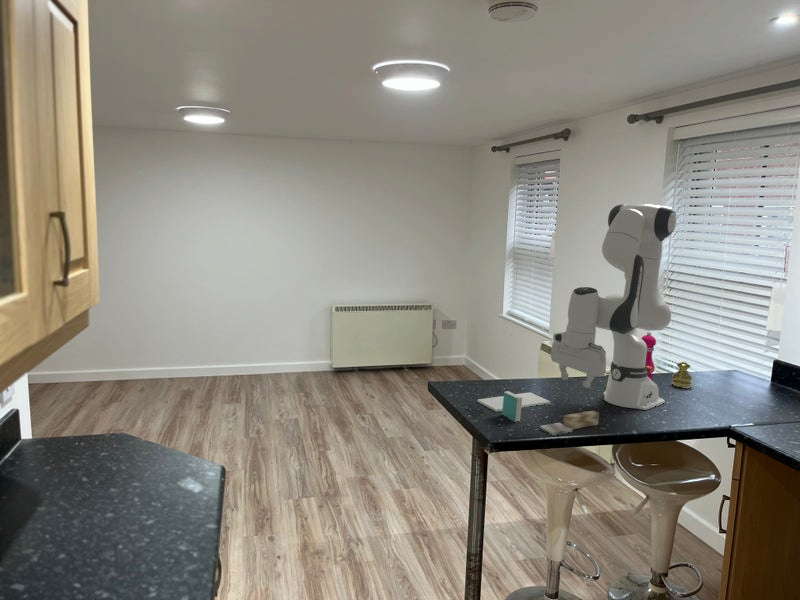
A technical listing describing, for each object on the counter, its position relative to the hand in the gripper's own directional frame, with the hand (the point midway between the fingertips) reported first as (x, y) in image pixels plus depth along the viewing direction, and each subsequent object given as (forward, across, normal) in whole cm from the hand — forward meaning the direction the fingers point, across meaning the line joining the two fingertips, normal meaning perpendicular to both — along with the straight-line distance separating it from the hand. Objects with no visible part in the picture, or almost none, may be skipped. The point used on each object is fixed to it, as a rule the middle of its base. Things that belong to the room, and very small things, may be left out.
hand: (575, 382), depth 184 cm
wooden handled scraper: (+15, 0, -1) cm, 15 cm away
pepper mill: (+14, +32, -74) cm, 81 cm away
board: (+15, +26, +1) cm, 30 cm away
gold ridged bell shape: (+14, +18, -79) cm, 82 cm away
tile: (+15, +14, +12) cm, 24 cm away
